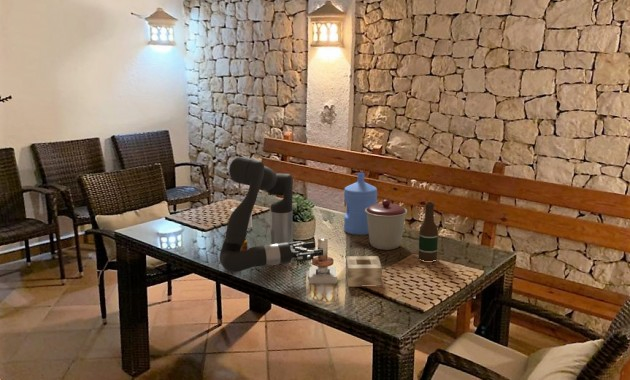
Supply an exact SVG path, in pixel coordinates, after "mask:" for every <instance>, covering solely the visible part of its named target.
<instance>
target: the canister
mask: <svg viewBox="0 0 630 380" xmlns="http://www.w3.org/2000/svg"><path fill="white" fill-rule="evenodd" d="M365 212H366V213H367V223H368V233H369V234H368V239H369V244H370V246H371V247H373V248H375V249H378V250H382V251H389V250H396V249H398V248H399V247H400V245H401V244H402V240H403V235H404V227H405V221H406V220H405V219H406V214H407V213H408V209H406V208H405V207H404V206H402V205H399V204H396V203H391V201H390V200H389V199H383V200H382V202H381V203H377V204H374V205H371V206H369V207H367V208H366V209H365Z"/></svg>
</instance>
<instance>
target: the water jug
mask: <svg viewBox="0 0 630 380" xmlns="http://www.w3.org/2000/svg"><path fill="white" fill-rule="evenodd" d="M356 177H357V181H356V182H354V183H352V184H348V185H347V186H344V191H343V197H344V199H343V200H344V203H345V204H346V213H345V214H344V217H343V218H344V219H343V220H344V221H343V223H344V224H343V229H344V231H345V232H346V233H347V234H350V235H357V236H363V235H364V236H365V235H369V233H368V223H367V213H366V212H365V209H366V208H367V207H369V206H371V205H374V204H378V203H377V202H378V201H377V200H378V199H377V198H378V189H377V187H376V186H374V185H372V184H370V183H367V182H365V173H364V172H358V173H357V176H356Z"/></svg>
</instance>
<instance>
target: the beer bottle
mask: <svg viewBox="0 0 630 380" xmlns="http://www.w3.org/2000/svg"><path fill="white" fill-rule="evenodd" d="M424 206H425V212H424V219H423V222H422V223H421V225H420V228H419V233H418V234H419V235H418V260H419V259H421V260H424V261H433V260H436V261H437V260H438V259H437V258H438V242H439V239H438V238H439V231H438V227H437V225H436V223H435V218H434V215H435V214H434V208H435V203H434V202H432V201H429V202H428V201H427V202H425V205H424Z"/></svg>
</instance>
